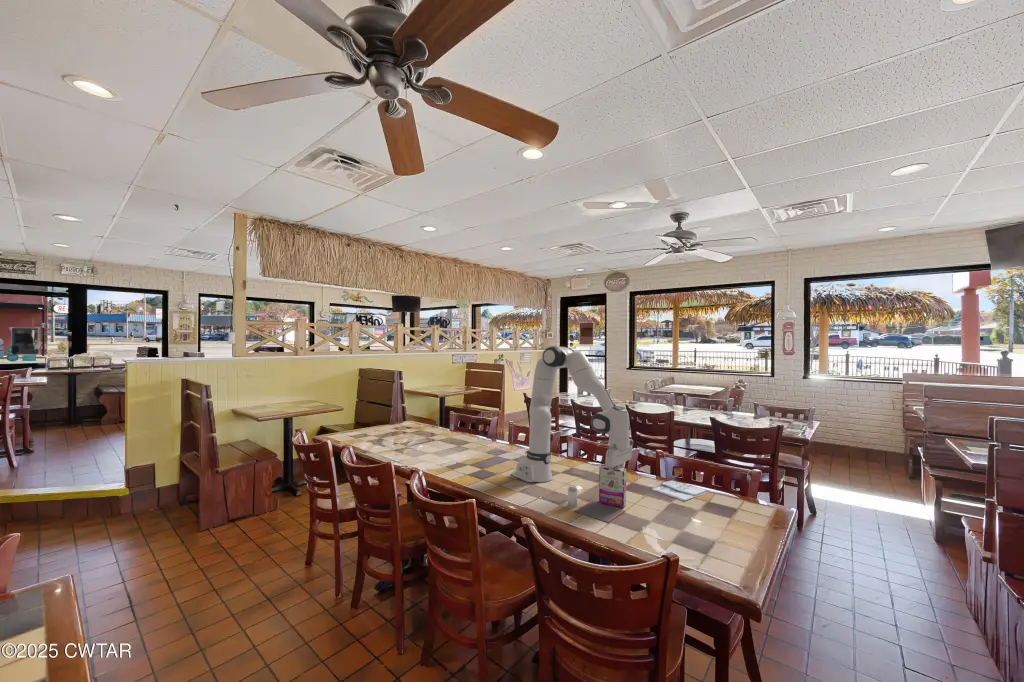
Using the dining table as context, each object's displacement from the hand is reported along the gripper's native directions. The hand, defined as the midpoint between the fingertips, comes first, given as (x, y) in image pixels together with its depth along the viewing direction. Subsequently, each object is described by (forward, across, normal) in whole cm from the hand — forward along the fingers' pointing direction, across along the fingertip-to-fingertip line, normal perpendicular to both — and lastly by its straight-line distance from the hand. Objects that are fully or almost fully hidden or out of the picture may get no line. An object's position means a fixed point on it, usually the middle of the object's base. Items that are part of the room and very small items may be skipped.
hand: (618, 472), depth 186 cm
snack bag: (+13, +31, -16) cm, 38 cm away
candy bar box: (+13, -6, 0) cm, 14 cm away
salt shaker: (+13, -20, +12) cm, 26 cm away
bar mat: (+13, -17, 0) cm, 21 cm away
